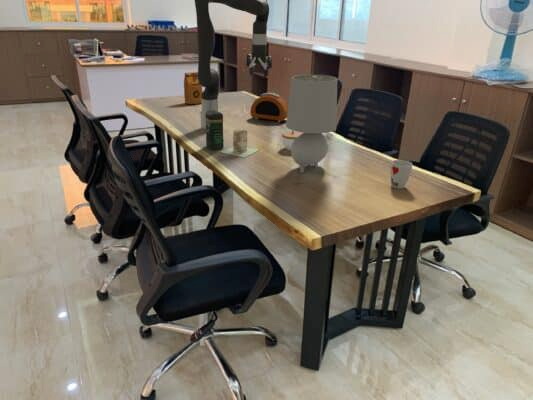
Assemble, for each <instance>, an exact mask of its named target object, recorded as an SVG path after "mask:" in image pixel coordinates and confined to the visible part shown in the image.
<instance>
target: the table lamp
mask: <svg viewBox="0 0 533 400" xmlns="http://www.w3.org/2000/svg"><path fill="white" fill-rule="evenodd" d="M290 82H291V83H290V88H289V89H290V90H289V98H288V103H287V105H288V113H287V118H286V123H285V127H286V128H287V129H289V130H291V131H295V132H300V133H302V134H301V135H300V136H298V137H297V138H296V139H295V140H294V142H293V144H292V147H291V151H290V154H291V157H292V159H293V161H294V162H295V164H297V165H298V166H299V172H300V174H302V173H304V172H305V167H307V166H308V167H309V166H312V165H313V167H314V168H318V164H319V162H321V161H322V160H323V159H325V158H326V155H327V154H328V150H329V143H328V140H327V138H326V136H325V135H324V134H326V133H327V134H328V133H332V132H334V131H336V130H337V113H338V112H337V106H338V77H337V78H336V77H335V76H330V75H324V74H323V75H322V74H296V75H293V76H292V77H291V80H290Z"/></svg>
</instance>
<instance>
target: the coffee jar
mask: <svg viewBox="0 0 533 400" xmlns="http://www.w3.org/2000/svg"><path fill="white" fill-rule="evenodd" d="M205 119H206V130H205V134H206V135H205V138H206V139H205V140H206V143H205V144H206V147H207V149H210V150H217V151H218V150H221V149H224V114H223V113H222V112H220V111H219V110H218V111H216V110H208V111H207V112H206V115H205Z"/></svg>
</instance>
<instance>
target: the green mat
mask: <svg viewBox="0 0 533 400" xmlns="http://www.w3.org/2000/svg"><path fill="white" fill-rule="evenodd" d="M259 151H260V149H257V148H253V147H248V146H247V151H245V152H243V153H239V152H235V151H233V146H231V147H228V148H225V149H224V150H221V151H220V153H222V154H225V155H229V156H234V157H238V158H247V157H249V156H250V155H253V154H255V153H257V152H259Z"/></svg>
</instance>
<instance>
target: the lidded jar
mask: <svg viewBox="0 0 533 400" xmlns="http://www.w3.org/2000/svg"><path fill="white" fill-rule="evenodd" d="M301 134H303V132H297V131H293V130H291V131H284V132H282V134H281V136H282V137H281V141H282V145H283V146H284V148H285V150H286V151H290V152H291V147H292V144H293V142H294V140H295V139H296V138H297V137H298V136H300V135H301Z"/></svg>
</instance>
